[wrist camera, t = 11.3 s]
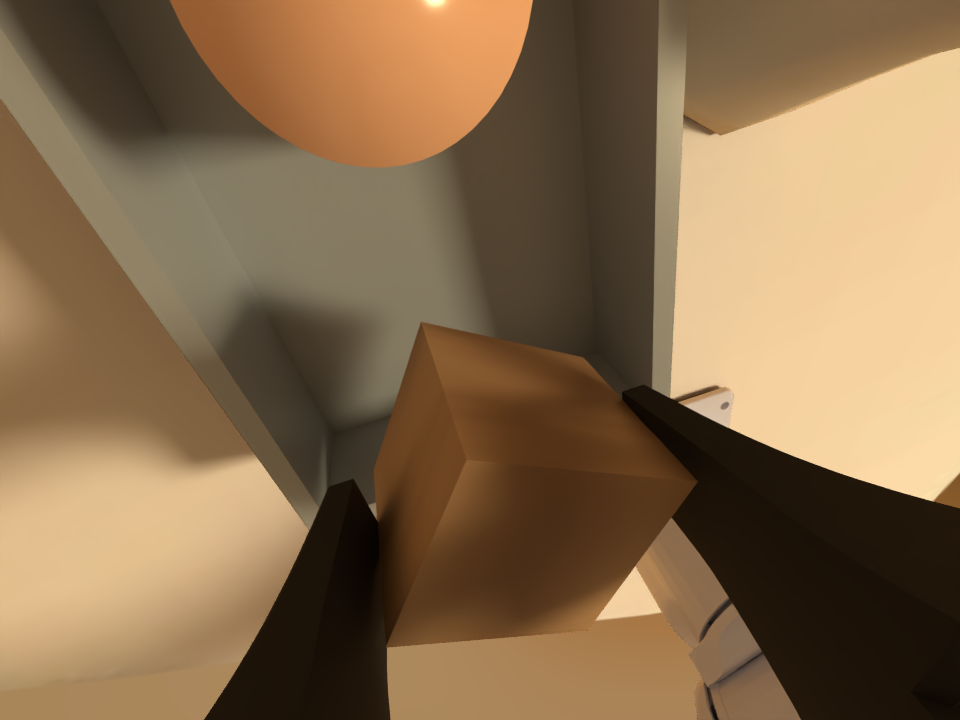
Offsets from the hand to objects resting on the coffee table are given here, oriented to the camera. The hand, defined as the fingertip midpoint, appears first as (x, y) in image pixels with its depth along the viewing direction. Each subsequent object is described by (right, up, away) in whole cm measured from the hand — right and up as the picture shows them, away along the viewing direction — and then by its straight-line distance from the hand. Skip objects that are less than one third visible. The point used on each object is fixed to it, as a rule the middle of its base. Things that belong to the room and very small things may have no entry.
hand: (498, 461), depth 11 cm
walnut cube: (-1, +1, +2) cm, 2 cm away
